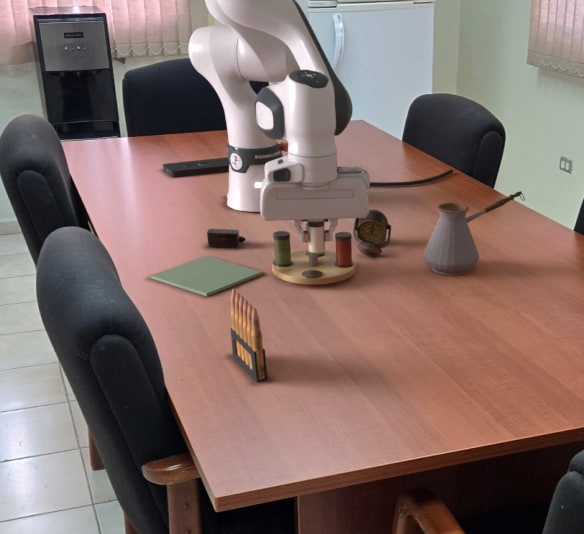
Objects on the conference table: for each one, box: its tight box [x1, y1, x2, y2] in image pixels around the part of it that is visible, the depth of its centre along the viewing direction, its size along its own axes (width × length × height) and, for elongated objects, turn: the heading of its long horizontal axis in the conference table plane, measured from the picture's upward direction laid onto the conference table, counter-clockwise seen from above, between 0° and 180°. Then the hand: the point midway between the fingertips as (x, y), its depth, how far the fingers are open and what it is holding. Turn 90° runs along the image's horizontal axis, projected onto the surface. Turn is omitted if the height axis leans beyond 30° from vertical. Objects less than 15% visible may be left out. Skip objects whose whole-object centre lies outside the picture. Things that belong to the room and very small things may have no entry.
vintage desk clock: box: [352, 209, 392, 257], centre depth 203 cm, size 7×13×10 cm
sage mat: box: [150, 255, 263, 297], centre depth 186 cm, size 15×15×1 cm
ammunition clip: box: [230, 288, 269, 383], centre depth 150 cm, size 11×2×12 cm, turn 32°
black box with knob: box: [206, 228, 246, 249], centre depth 201 cm, size 5×7×3 cm, turn 89°
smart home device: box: [162, 156, 230, 178], centre depth 252 cm, size 8×2×20 cm
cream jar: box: [306, 219, 326, 253], centre depth 180 cm, size 3×3×6 cm
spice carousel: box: [271, 219, 356, 285], centre depth 186 cm, size 16×16×13 cm
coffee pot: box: [422, 190, 526, 276], centre depth 193 cm, size 21×12×15 cm, turn 112°
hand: (316, 241), depth 180 cm, fingers closed on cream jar, 3 cm apart
